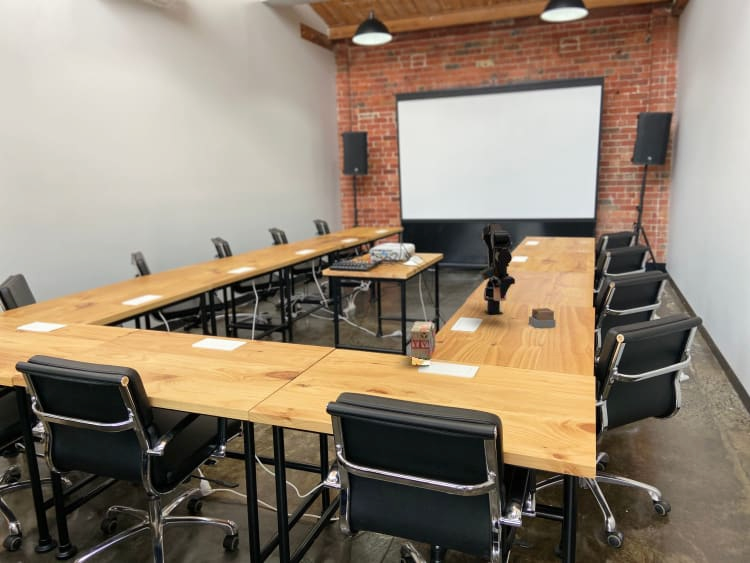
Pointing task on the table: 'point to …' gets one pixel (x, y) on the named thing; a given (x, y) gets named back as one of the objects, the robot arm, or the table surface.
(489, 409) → the table surface
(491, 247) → the robot arm
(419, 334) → the cardboard box
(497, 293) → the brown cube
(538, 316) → the tower top
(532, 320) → the tower base
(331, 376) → the table surface
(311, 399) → the table surface
